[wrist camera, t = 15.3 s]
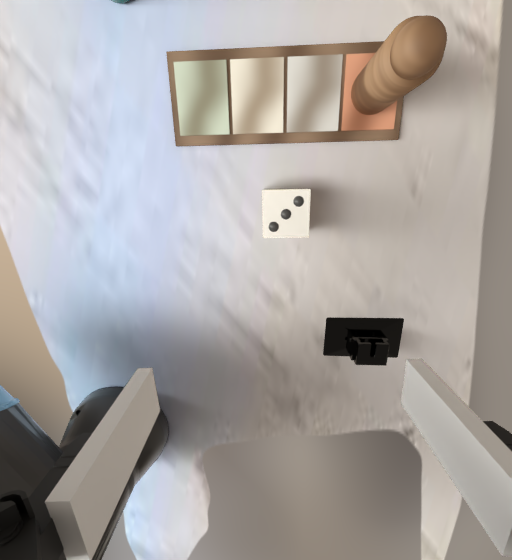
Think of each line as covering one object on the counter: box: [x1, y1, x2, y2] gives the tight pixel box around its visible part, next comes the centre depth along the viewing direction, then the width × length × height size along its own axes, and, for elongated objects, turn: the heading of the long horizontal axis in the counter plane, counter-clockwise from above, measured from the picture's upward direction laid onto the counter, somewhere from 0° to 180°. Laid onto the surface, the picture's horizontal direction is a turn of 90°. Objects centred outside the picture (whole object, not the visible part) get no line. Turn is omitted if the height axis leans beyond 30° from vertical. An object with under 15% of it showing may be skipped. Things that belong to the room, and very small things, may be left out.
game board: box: [167, 41, 404, 146], centre depth 30 cm, size 25×9×1 cm, turn 91°
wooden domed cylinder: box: [351, 16, 447, 115], centre depth 24 cm, size 4×4×11 cm
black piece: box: [323, 318, 404, 365], centre depth 38 cm, size 13×8×5 cm, turn 90°
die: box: [262, 189, 311, 238], centre depth 32 cm, size 5×5×5 cm
